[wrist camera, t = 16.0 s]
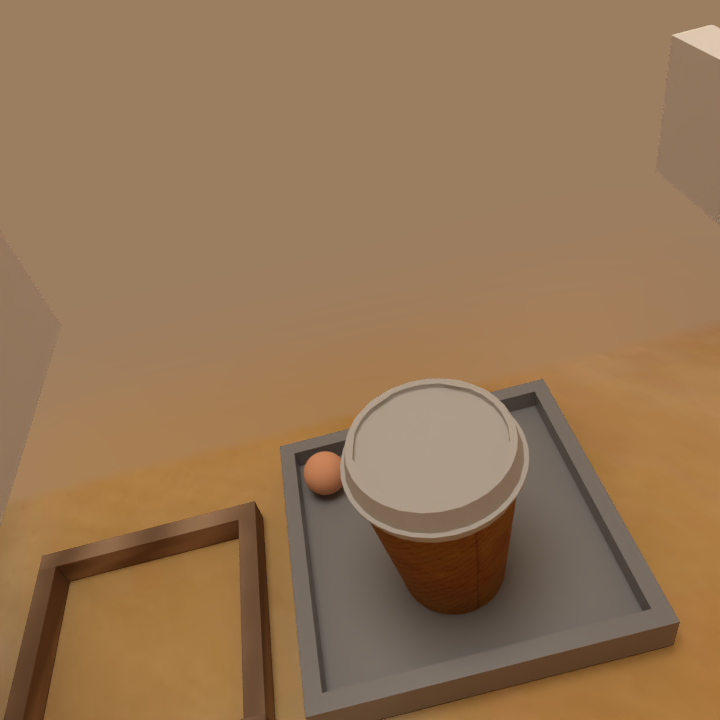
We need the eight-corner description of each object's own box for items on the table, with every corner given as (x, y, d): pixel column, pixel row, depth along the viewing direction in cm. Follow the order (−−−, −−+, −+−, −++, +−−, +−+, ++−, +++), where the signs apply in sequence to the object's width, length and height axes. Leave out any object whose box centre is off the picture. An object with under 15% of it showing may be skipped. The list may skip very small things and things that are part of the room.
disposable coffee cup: (380, 505, 44) (343, 380, 37) (523, 497, 43) (517, 364, 35) (372, 644, 37) (324, 528, 30) (543, 641, 36) (541, 517, 28)
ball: (311, 508, 45) (300, 482, 43) (307, 474, 48) (296, 448, 46) (353, 497, 45) (344, 470, 43) (347, 464, 48) (338, 438, 46)
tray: (317, 735, 36) (305, 717, 34) (289, 469, 50) (279, 446, 48) (673, 644, 36) (679, 622, 34) (543, 404, 50) (543, 378, 48)
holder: (3, 819, 36) (-18, 809, 34) (56, 570, 47) (42, 555, 46) (277, 749, 35) (266, 737, 34) (262, 517, 47) (254, 501, 46)
